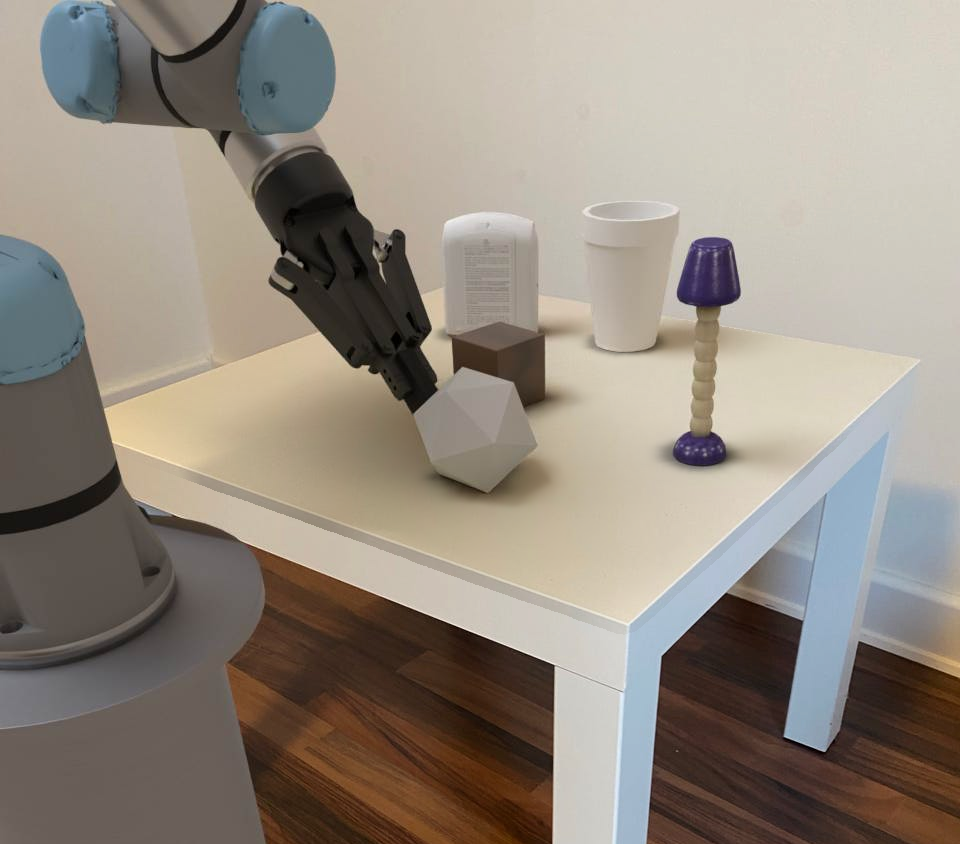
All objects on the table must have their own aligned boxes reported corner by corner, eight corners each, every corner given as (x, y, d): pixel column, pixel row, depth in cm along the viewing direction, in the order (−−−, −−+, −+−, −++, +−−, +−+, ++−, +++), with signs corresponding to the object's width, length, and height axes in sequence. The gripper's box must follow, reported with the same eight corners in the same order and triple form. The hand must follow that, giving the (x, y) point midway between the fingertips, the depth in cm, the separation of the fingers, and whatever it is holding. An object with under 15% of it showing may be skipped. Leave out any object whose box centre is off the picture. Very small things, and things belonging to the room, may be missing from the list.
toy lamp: (711, 472, 79) (732, 251, 70) (656, 461, 81) (669, 244, 72) (733, 450, 83) (756, 235, 73) (680, 439, 85) (696, 230, 75)
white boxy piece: (541, 327, 111) (540, 207, 104) (536, 339, 108) (535, 217, 101) (449, 326, 113) (442, 208, 106) (442, 338, 109) (435, 217, 103)
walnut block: (498, 416, 91) (496, 351, 87) (454, 400, 94) (451, 336, 91) (545, 398, 94) (545, 334, 90) (501, 383, 98) (499, 321, 94)
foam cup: (689, 344, 105) (699, 210, 97) (618, 363, 101) (623, 225, 93) (631, 322, 111) (636, 196, 104) (562, 339, 108) (563, 209, 100)
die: (557, 484, 80) (532, 362, 81) (518, 473, 72) (491, 337, 72) (461, 510, 84) (437, 392, 84) (413, 502, 75) (387, 371, 76)
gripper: (234, 159, 75) (394, 428, 75) (371, 135, 83) (519, 380, 82) (211, 225, 82) (359, 473, 81) (341, 197, 89) (478, 425, 88)
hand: (439, 426), depth 81 cm, fingers closed
